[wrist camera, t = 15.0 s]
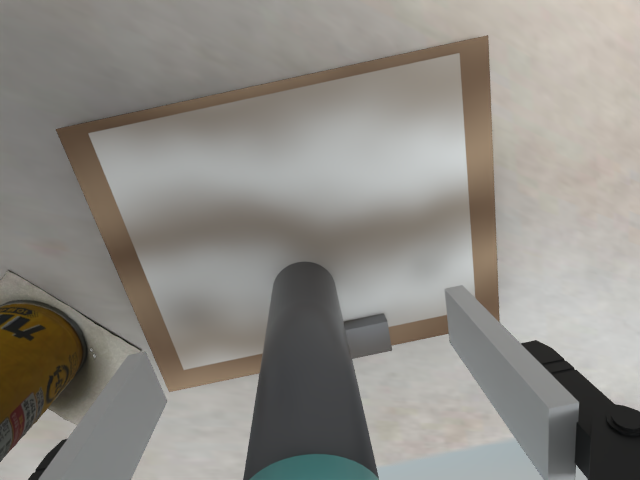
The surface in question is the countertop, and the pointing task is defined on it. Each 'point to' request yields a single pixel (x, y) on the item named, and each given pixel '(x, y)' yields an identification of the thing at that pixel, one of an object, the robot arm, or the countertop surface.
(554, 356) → the robot arm
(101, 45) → the countertop surface
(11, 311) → the condiment
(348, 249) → the clipboard
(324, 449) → the marker
